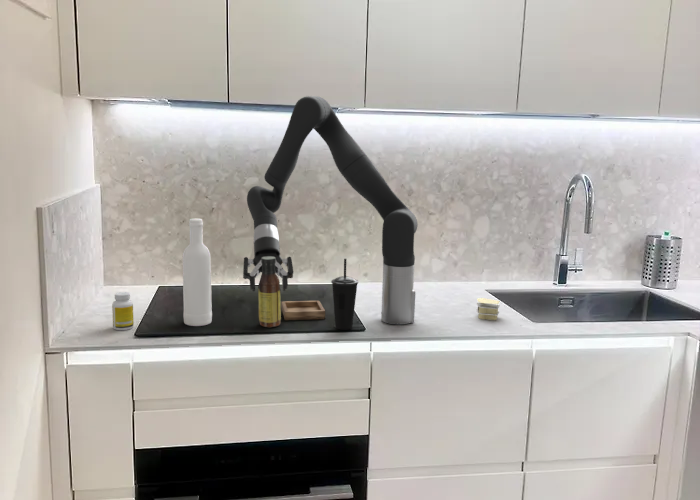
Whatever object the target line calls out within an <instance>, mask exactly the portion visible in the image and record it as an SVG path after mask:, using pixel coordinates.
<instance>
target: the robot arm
mask: <svg viewBox="0 0 700 500" xmlns="http://www.w3.org/2000/svg"><path fill="white" fill-rule="evenodd" d="M313 130H315V132H316V133H317V134H318V135H319V136H320V138H322V140H323V141H324V142H325V144H326V145H327V147H328V149H329V151H330V153H331V156H332V159H333V162H334V164H335V166H336V167H337V170H338V171H339V173H340V174H341V175H342V176H343V178H344V179H345V180H346V182H347V183H348V184H349V185H350V186H351V188H352V189H353V190H354V191H356V192H357V194H359V195H360V196H361V197H362V198H363V199H365V200H366V201H367V202H368V203H370V204H371V205H372V207H374V209H375V211H377V212H378V214H379V215H380V217H381V219H382V220H383V223H382V232H381V234H382V236H381V239H382V241H381V254H382V281H381V283H382V285H381V289H382V290H381V314H380V315H381V316H380V320H381V322H383V323H386V324H390V325H406V324H410V323H415V312H416V311H415V309H416V291H415V290H414V285H415V284H414V281H415V259H416V256H415V252H414V251H415V250H414V249H415V248H414V247H415V246H414V244H415V234H416V232H417V229H418V225H419V224H418V219H417V217H416V216H415V214H414V212H412V210H410V208H409V207H408V206H407V205H406V203H405V204H404V203H403V201H402V200H401V199H400V197H398V196H397V195H396V194H395V192H393V190H392V188H391V187H390V185H389V184H388V182H387V181H386V179H385V178H384V177H383V175H382V174H381V172H380V171H379V170H378V169H377V167H376V165H375V164H374V163H373V161H372V160H371V158H370V157H369V156H368V154H366V152H365V151H364V150H363V149H362V148H361V146H360V145H359V144H358V143H357V142H356V140H355V138H353V136H351V134H350V133H349V132H348V131H347V129H346V128H345V127H344V125H343V124H342V123H341V121H340V119H339V117H338V116H337V115H336V113H335V111H334V109H333V108H332V106H331V105H330V103H329V102H328V101H327V100H326V99H325V98H324V97H321V96H319V95H306V96H303V97H301V98H299V99H298V100H297V102H296V103H295V105H294V107H293V110H292V112H291V116H290V119H289V122H288V125H287V128H286V130H285V133H284V135H283V138H282V139H281V142H280V145H279V146H278V149H277V151H276V153H275V155H274V157H272V161H271V162H270V163H269V166H268V168H267V169H266V171H265V174H264V177H263V178H264V181H265V182H266V183H267V184H268V185H270V186H271V187H272V189H268V188H265V187H263V186H259V185H255V186H252V187H251V188H250V189H249V190H248V192H247V196H246V203H247V207H248V210H249V213H250V215H251V219H252V221H253V253H254V254H253V256H254V257H253V258H252V259H251V258H249V257H247V256H245V257H243V269H242V270H243V271H242V272H243V274H242V278H243V279H244V280H249V289H250V290H252V292H256V278H257V277H258V276H259V275H260V274H262V263H261V258H262V257H267V256H272V257H275V258H276V263H275V270H276V275H277V276H278V277H280V278H281V282H282V283H281V284H282V291H283V292H285V291H286V290H287V289H288V285H289V283H288V281H289V280H288V279H293V277H294V267H293V260H292V257H291V256H287V257H286V258H282V256H281V248H280V247H281V246H280V236H279V230H278V220H277V219H278V218H277V216H276V212H277V211H278V210H279V209H280V208H281V205H282V200H283V195H284V192H285V188H286V186H287V183H288V181H289V180H290V178H291V176H292V174H293V172H294V170H295V168H296V166H297V162H298V159H299V156H300V155H299V154H300V152H301V149H302V146H303V144H304V142H305V140H306V139H307V138H308V136H309V135H310V133H311V132H312V131H313ZM282 264H284V266H285V267H287V271H286V270H285V269H284V267H283V266H282ZM251 265H253V270H252V271H250V272H248V271H249V270H248V268H249V267H251Z"/></svg>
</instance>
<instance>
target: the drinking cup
mask: <svg viewBox="0 0 700 500" xmlns="http://www.w3.org/2000/svg"><path fill="white" fill-rule="evenodd" d="M330 282H331V284H332V297H333V299H332V300H333V312H334V313H333V314H334V324H335V325H334V326H335V327H334V328H335V329H336V330H340V331H341V330H344V331H345V330H352V329H353V324H354V315H355V306H356V298H357V297H356V296H357V289H358V284H359V280H358V279H355V278H354V277H352V276H347V258H344V259H343V276H342V275H341V276H339V277H335V278H333V279H331V280H330Z"/></svg>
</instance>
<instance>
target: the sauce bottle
mask: <svg viewBox="0 0 700 500" xmlns="http://www.w3.org/2000/svg"><path fill="white" fill-rule="evenodd" d="M261 263H262V272H261V275H260V278H259V283H258V285H257V290H258V291H257V296H258V302H257V303H258V321H259V325H260V326H261V327H263V328H264V327H265V328H275V327H278V326H280V325H281V320H282V317H281V316H282V310H281V288H280V287H281V283H280V279H279V276H278V275H277V274H276V270H275V263H276V258H275V257H272V256H267V257H262V258H261Z"/></svg>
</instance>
